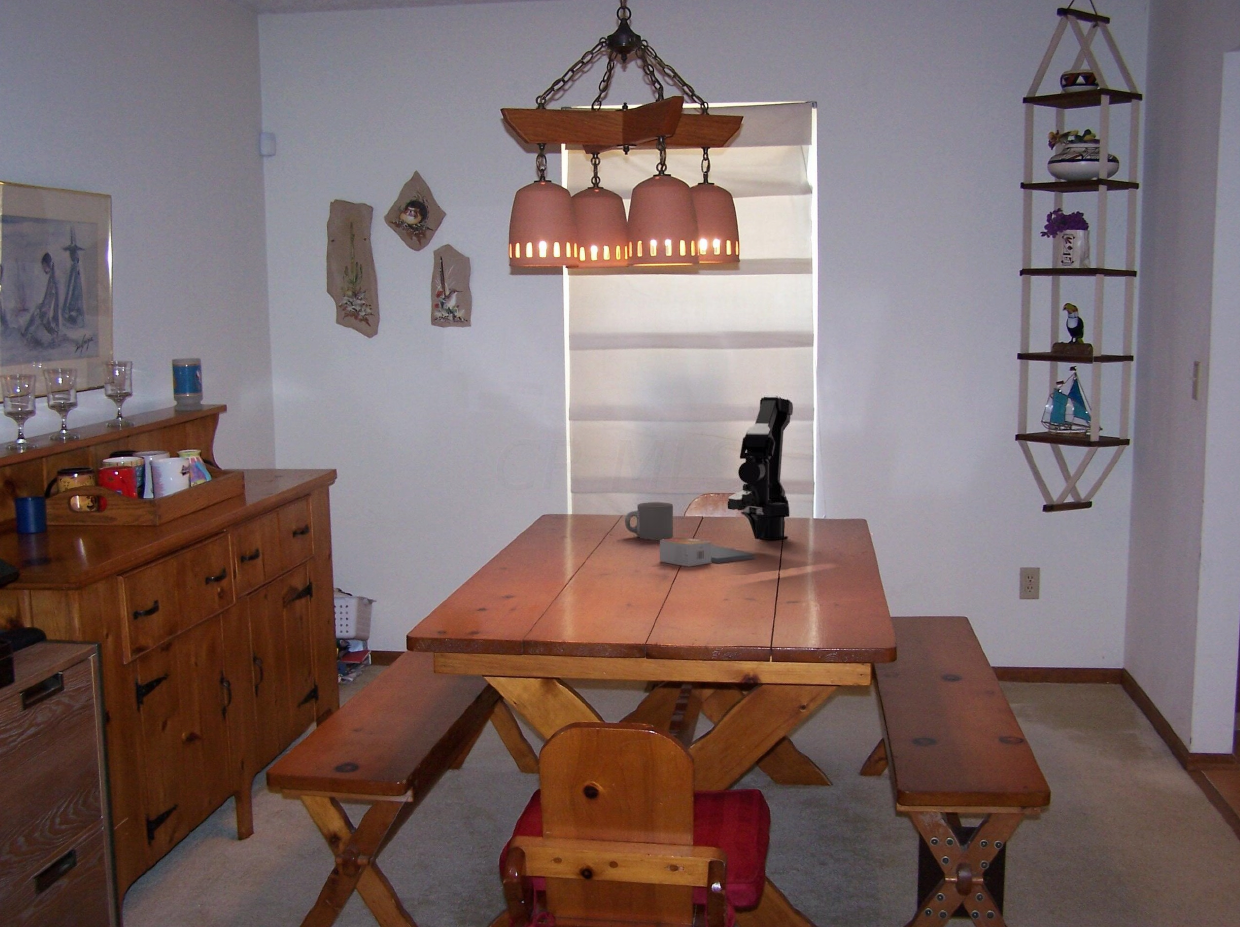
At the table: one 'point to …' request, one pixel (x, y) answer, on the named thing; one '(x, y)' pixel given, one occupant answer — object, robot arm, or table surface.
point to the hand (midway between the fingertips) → (757, 539)
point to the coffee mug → (652, 520)
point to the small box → (685, 551)
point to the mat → (728, 554)
